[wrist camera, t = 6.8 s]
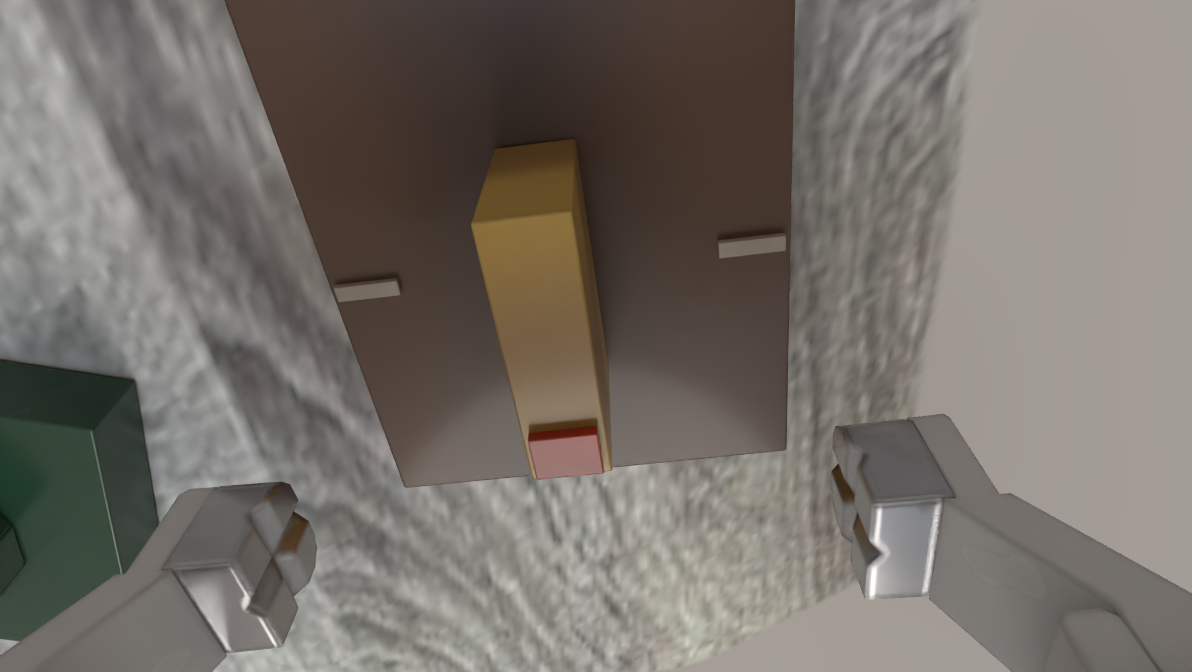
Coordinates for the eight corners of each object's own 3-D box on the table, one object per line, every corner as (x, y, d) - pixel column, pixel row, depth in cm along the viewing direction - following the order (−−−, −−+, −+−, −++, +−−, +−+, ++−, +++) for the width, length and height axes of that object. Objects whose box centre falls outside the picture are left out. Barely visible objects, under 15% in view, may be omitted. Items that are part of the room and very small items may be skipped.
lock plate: (762, -96, 15) (799, -85, 12) (763, 380, 21) (788, 455, 19) (281, -27, 15) (217, -2, 13) (425, 416, 22) (402, 493, 19)
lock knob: (494, 147, 14) (467, 230, 11) (575, 137, 14) (571, 217, 11) (541, 374, 17) (530, 488, 14) (608, 367, 17) (612, 480, 14)
